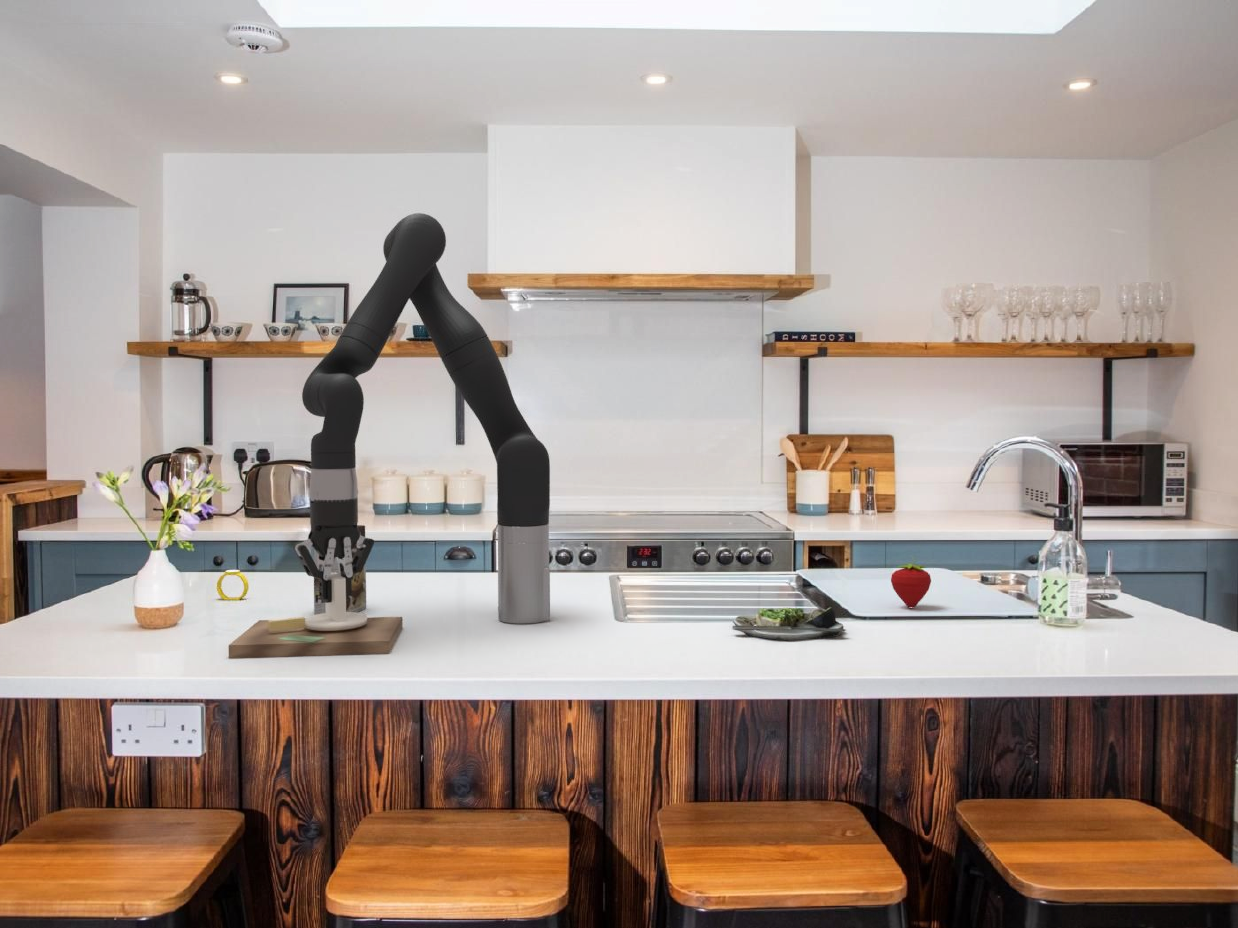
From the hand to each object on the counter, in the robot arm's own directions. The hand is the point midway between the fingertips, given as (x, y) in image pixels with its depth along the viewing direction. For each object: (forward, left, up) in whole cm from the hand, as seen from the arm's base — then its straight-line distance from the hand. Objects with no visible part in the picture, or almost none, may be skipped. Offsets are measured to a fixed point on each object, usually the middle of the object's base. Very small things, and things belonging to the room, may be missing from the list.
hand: (335, 600), depth 160 cm
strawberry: (-104, -13, -7) cm, 105 cm away
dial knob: (+3, +1, -4) cm, 5 cm away
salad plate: (-76, +2, -7) cm, 77 cm away
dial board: (+2, +2, -6) cm, 7 cm away
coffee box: (+3, -22, -7) cm, 23 cm away
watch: (+27, -38, -7) cm, 47 cm away
